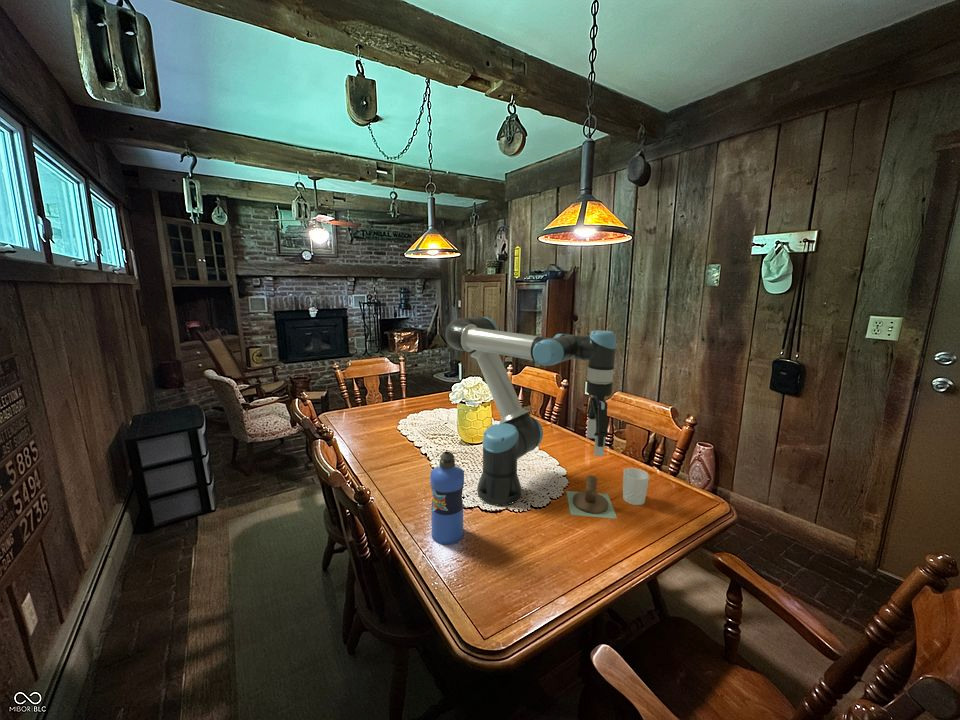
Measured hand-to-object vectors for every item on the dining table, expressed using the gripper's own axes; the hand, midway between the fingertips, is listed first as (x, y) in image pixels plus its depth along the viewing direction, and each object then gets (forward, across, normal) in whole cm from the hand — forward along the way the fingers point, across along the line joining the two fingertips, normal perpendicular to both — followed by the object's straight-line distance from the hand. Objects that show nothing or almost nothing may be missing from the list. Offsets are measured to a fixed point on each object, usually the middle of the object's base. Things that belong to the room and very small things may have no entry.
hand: (594, 446), depth 118 cm
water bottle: (+21, -21, +43) cm, 52 cm away
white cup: (+21, +4, -15) cm, 26 cm away
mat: (+20, 0, 0) cm, 21 cm away
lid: (+20, 0, 0) cm, 20 cm away
